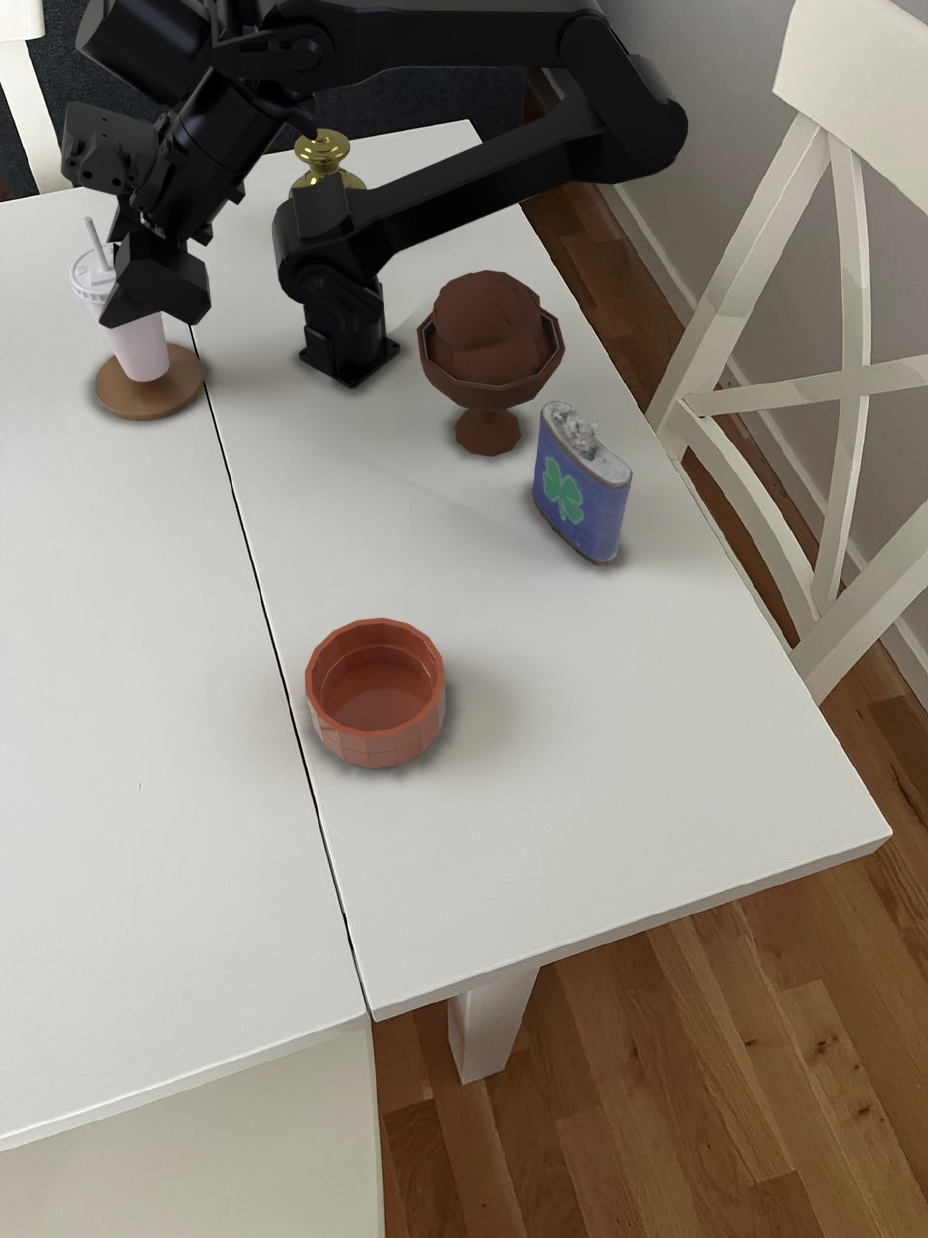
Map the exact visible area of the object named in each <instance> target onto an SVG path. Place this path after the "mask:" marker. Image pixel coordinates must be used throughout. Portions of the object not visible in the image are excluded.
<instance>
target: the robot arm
mask: <svg viewBox="0 0 928 1238" xmlns="http://www.w3.org/2000/svg"><path fill="white" fill-rule="evenodd" d="M244 26H245V27H254V30H255V32H251V33H248V34H244ZM74 44H75V49H76V50H77V51H78V52H80V53H81V54H83V55H84V56H85V57H87V58H89V59H90V60H92V62H94V63H96V64H97V65H98V66H100V67H102V68H103V69H105V70H106V71H107V72H109V73H110V74H112V75H113V76H115V77H116V78H117V79H119V80H121V81H122V82H123V83H125V84H127V85H128V86H129V87H130V88H132V89H134V90H135V91H136V92H138V93H139V94H141V95H142V96H144V97H146V98H147V99H148V100H150V101H152V103H154V104H156V105H157V106H159V107H161V106H164V105H166V106H167V107H169V108H170V110H169V111H168V112H167V113H165V112H163V113H161V115H160V116H159V117H158V119H157V120H156V121H155V122H154V124H153V123H151V122H149V121H147V120H146V119H145V118H136V119H135V118H133V117H132V116H129V115H126V114H123V113H119V112H116V111H113V110H110V109H105V108H102V107H98V106H95V105H92V104H88V103H86V102H81V101H70V102H68V103H67V104H66V108H65V117H64V126H63V133H62V143H61V158H60V174H61V175H62V176H63V177H64V178H65V179H66V180H68V181H70V182H72V183H74V184H77V185H81V186H82V187H83V188H84V189H88V190H92V191H95V192H100V193H103V194H106V195H107V194H108V195H111V196H115V197H116V200H117V206H116V209H115V213H114V216H113V219H112V223H111V226H110V229H109V232H108V235H107V238H106V241H105V244H106V243H112V242H121V245H120V246H119V245H117V244H116V243H113V266H114V270H115V272H116V281H115V283H114V285H113V287H112V289H111V292H110V294H109V296H108V298H107V300H106V302H105V304H104V307H103V309H102V312H101V314H100V316H99V324H101V325H103V326H105V327H107V328H109V329H113V328H116V327H119V326H121V325H124V324H127V323H130V322H132V321H135V320H138V319H140V318H143V317H146V316H149V315H151V314H154V313H157V312H161V313H162V312H163V313H165V314H168V315H169V316H171V317H173V318H175V319H177V320H178V321H180V322H182V323H185V324H186V325H187V326H190V327H193V326H199V324H200V322H202V320H203V319H204V317H205V316H206V315H207V313H208V312H209V311H210V310H211V309H212V296H211V286H210V277H209V273H208V270H207V267H206V261H203V260H202V259H201V258H199V257H197V256H195V255H194V254H192V253H190V252H189V249H188V248H189V247H188V241H189V239H191V240H193V241H195V242H196V243H198V244H200V245H201V246H203V247H205V248H207V247H208V245H209V244H210V243H211V242H212V241H213V239H214V229H213V222H214V220H215V219H216V218H217V217H218V215H219V214H220V212H222V210H223V209H224V207H225V206H226V205H227V203H228V202H229V201H230V202H231V203H233V204H234V205H236V206H239V205H240V203H241V202H242V201H243V200H244V198H245V197H246V196H247V193H246V186H245V179H246V178H247V177H248V176H249V174H250V173H251V172H252V170H253V169H254V167H255V166H256V165H257V163H258V162H259V161H260V160H261V158H262V157H263V156H264V154H265V153H266V152H267V150H268V149H269V147H270V146H271V145H272V144H273V142H274V141H275V140H276V138H277V137H278V136H279V135H280V133H281V132H282V131H283V129H284V128H285V127H286V125H289V126H290V127H291V128H292V129H294V130H295V131H296V132H298V133H299V134H301V136H302V135H303V136H305V137H306V138H307V139H309V140H311V141H314V140H316V139H317V137H318V132H317V129H318V128H317V123H316V117H315V107H316V95H315V94H316V93H323V92H327V91H331V90H332V91H333V90H339V89H345V88H348V87H354V86H358V85H360V84H362V83H364V82H367V81H368V80H370V79H372V78H374V77H376V76H378V75H379V74H381V73H383V72H386V71H391V70H397V69H405V68H406V69H407V68H409V69H415V68H417V69H418V68H419V69H421V68H422V69H430V68H431V69H432V68H434V69H435V68H436V69H442V68H443V69H444V68H445V69H446V68H447V69H460V68H461V69H517V68H518V69H562V70H563V69H564V70H567V72H568V73H569V74H570V75H571V77H572V78H573V80H574V81H575V82H576V84H575V85H574V86H573V87H572V88H571V89H570V90H569V92H567V94H566V95H565V96H564V98H563V99H562V100H561V101H560V102H559V103H558V104H557V105H556V107H554V109H552V111H551V112H549V113H548V114H546V115H545V116H543V117H541V118H538V119H536V120H534V121H531V122H528V123H526V124H524V125H521V126H520V127H517V128H514V129H512V130H509V131H508V132H507V131H506V132H505V133H502V134H501V135H497V136H496V137H493V138H491V139H489V140H486V141H484V142H482V143H479V144H477V145H475V146H472V147H470V148H467V149H464V150H463V151H460V152H458V153H455V154H453V155H450V156H447V157H446V158H443V159H441V160H439V161H436V162H435V163H432V164H430V165H427V166H425V167H422V168H420V169H418V170H415V171H413V172H411V173H408V174H405V175H404V176H401V177H399V178H397V179H394V180H392V181H389V182H387V183H385V184H382V185H380V186H378V187H377V186H376V187H374V188H367V189H357V188H345V185H344V181H343V178H342V174H341V173H340V172H336V173H332V174H329V175H328V176H326V177H325V178H323V179H321V180H320V181H318V182H316V183H315V184H313V185H309V186H306V187H296V188H292V189H291V192H292V197H291V198H290V199H288V198H287V199H286V200H285V201H283V202H281V204H279V206H277V207H276V210H275V211H276V212H275V213H274V216H273V219H272V223H271V239H272V245H273V251H274V260H275V266H276V267H275V268H276V272H277V280H278V283H279V285H280V288H281V290H282V291H283V292H284V294H285V295H286V296H287V297H288V298H289V299H290V300H292V301H294V302H295V303H297V304H300V305H302V308H303V314H304V322H305V325H304V326H303V334H304V340H305V347H303V348H302V349H301V350H299V352H298V357H299V360H300V362H303V363H305V364H307V365H308V366H310V367H312V368H313V369H315V370H317V371H319V372H320V373H321V374H324V375H325V376H327V377H329V378H331V379H333V380H334V381H336V382H337V383H340V384H341V385H343V386H345V387H347V388H349V389H356V388H358V387H359V386H360V385H362V383H364V382H365V381H367V379H369V378H370V377H371V376H373V375H374V374H375V373H376V372H377V371H378V370H379V369H381V368H382V367H383V366H384V365H386V364H387V363H388V362H389V361H391V360H392V359H394V358H395V356H397V355H398V354H399V353H401V351H402V347H401V344H400V343H399V342H397V341H395V340H394V339H392V338H389V337H388V336H387V325H386V313H385V312H386V311H385V301H384V300H385V299H384V290H383V283H382V282H380V280H379V275H378V274H379V273H380V272H381V271H382V270H383V268H384V267H385V266H386V265H387V264H388V263H389V261H391V259H392V258H394V256H395V255H397V254H399V253H401V252H403V251H405V250H408V249H410V248H413V247H416V246H418V245H420V244H423V243H425V242H427V241H430V240H432V239H435V238H437V237H440V236H441V235H444V234H446V233H447V234H448V233H449V232H451V231H454V230H456V229H458V228H462V227H464V226H466V225H469V224H471V223H474V222H475V221H479V220H480V219H484V218H486V217H488V216H490V215H493V214H495V213H498V212H501V211H502V210H506V209H507V208H510V207H512V206H515V205H518V204H520V203H521V202H524V201H527V200H530V199H532V198H535V197H537V196H539V195H542V194H544V193H546V192H547V193H548V192H549V191H551V190H554V189H556V188H559V187H561V186H564V185H566V184H570V183H585V184H597V185H598V184H599V185H612V186H613V185H618V184H622V183H626V182H631V181H634V180H638V179H642V178H647V177H651V176H654V175H657V174H659V173H660V172H663V171H664V170H666V169H668V168H669V167H670V166H672V165H673V164H674V163H675V162H676V161H677V159H678V157H677V156H678V154H679V153H680V152H681V150H682V149H683V147H684V146H685V143H686V140H687V137H688V135H689V119H688V115H687V112H686V110H685V108H684V107H683V105H682V103H681V102H680V100H679V98H678V97H677V95H676V93H675V92H674V91H673V89H672V87H671V85H670V84H669V82H668V80H667V79H666V77H665V76H664V74H663V72H662V71H661V69H660V68H659V67H658V66H657V64H656V63H655V62H654V61H653V60H650V59H648V58H646V57H645V56H642V55H641V54H639V53H630V51H629V49H627V47H626V45H625V44H624V43H623V41H622V39H621V38H620V36H619V35H618V33H617V32H616V31H615V30H614V27H612V25H611V24H610V22H609V21H608V18H607V17H606V15H605V13H604V11H603V9H602V7H601V6H600V4H599V3H598V1H597V0H203V3H202V2H200V1H199V0H89V2H88V4H87V6H86V8H85V11H84V13H83V16H82V18H81V21H80V23H79V27H78V30H77V34H76V37H75V43H74ZM209 66H210V67H209ZM208 68H209V69H208ZM206 71H207V72H206ZM205 72H206V73H205ZM204 74H205V75H204ZM201 79H202V80H201ZM187 99H188V100H187ZM186 100H187V102H186V103H185V104H184V106H183V107H182V109H181V110H180V111H179V113H175V112H174V111H173V110H171V109H173V108H175V107H176V106H177V105H178V104H179V102H185V101H186Z"/></svg>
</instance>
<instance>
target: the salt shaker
mask: <svg viewBox="0 0 928 1238" xmlns="http://www.w3.org/2000/svg"><path fill="white" fill-rule="evenodd" d="M317 132H318V137H317V139H316V140H314V141H311V140H309V139H307V138H306V137H305V136H303V135H302V134H301V135H300V136H299V137H298V138H297V139H296V140H295V141H294V146H293V149H294V154H295V156H296V158H297V159H298V160H300V161H301V162H302V163H305V164H306V165H308V166H309V169H308V170H307V171H306V172H304V174H303V175H301V176H300V177H298V178H297V179H296V180H295V181H294V182H293V183H292V185H291V186H290V188H289V191H288V194H287V200H288V199H290V198H291V197H292V192H291V189H292V188H296V187H306V186H309V185H313V184H315V183H316V182H318V181H320V180H321V179H323V178H325V177H326V176H328V175H329V174H332V173H336V172H340V173H341V174H342V178H343V181H344V185H345V188H357V189H368V187H367V185H366V183H365V182H364V181H363V180H362V179H361V178H360V177H359V176H358V175H356V174H354V173H352V172H349V171H348V170H346V169H345V168H343V167H342V166H340V163H341V162H342V161H343V160H344V159H346V158H347V157H348V155H349V154H350V152H351V143H350V140H349V138H348V137H347V136H346V135H345V134H343V133H341V132H340V131H337V130H333V129H329V128H317Z"/></svg>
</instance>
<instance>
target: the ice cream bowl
mask: <svg viewBox="0 0 928 1238" xmlns="http://www.w3.org/2000/svg"><path fill="white" fill-rule="evenodd" d="M432 306H433V307H432V311H431V312H430V313H429V314H428V315H427V316H426V317H425V319H424V320H423V321H422V322H421V323H420V324H419V325H418V327H417V328H416V335H417V336H416V338H417V344H418V352H419V359H420V364H421V367H422V371H423V373H424V376H425V377H426V379H427V380H428V382H429V383H430V384H431V385H432V387H434V388H435V389H437V390H438V391H439V392H440V393H442V395H444V396H446V397H447V398H448V399H450V400H451V401H452V402H453V403H454V404H456V405H457V406H459V407H462V408H464V409H466V410H465V411H464V412H463V413H462V415H461V416H460V417H459V418H458V419H457V421H456V422H455V425H454V433H455V439H456V443H457V444H458V445H460V446H461V447H462V448H463V449H465V450H466V451H467V452H469V453H470V454H473V455H478V456H479V455H480V456H486V457H496V456H498V455H502V454H504V453H508V452H510V451H512V450H513V449H514V448H515V446H516V445H517V444H518V443H519V441H520V440H521V438H523V437H522V430H521V425H520V421H519V418H518V417H517V416H516V415H515V414H514V413H512V412H511V411H509V410H508V409H510V408H513V407H517V406H519V405H523V404H525V403H527V402H530V401H533V400H535V399H536V397H537V396H538V395H539V394H540V392H541V391H542V389H543V388H544V387H545V385H546V384H547V382H548V381H549V380H550V379H551V377H552V376H553V375H554V373H555V371H557V369H558V368H559V366H560V365H561V363H562V360H563V357H564V354H565V352H566V345H565V341H564V338H563V334H562V329H561V325H560V323H559V317H557V316H555V315H554V314H552V313H550V312H549V311H548V310H546V309H545V308H543V307H542V306H541V297H540V295H539V294H538V293H537V292H536V291H534V290H533V289H532V288H531V287H529V286H528V285H527V284H525V283H523V282H522V281H520V280H519V279H517V278H515V277H514V276H512V275H511V274H509V273H507V272H505V271H498V270H490V269H483V270H479V271H476V272H471V271H470V272H468V273H465V274H463V275H460V276H458V277H455V278H453V279H450V280H449V281H448V282H447V283H446V284H445V285H443V286H442V287H441V288H440V290H439V293H438V296H437V298H436V299H435V301H434V302H433V305H432Z"/></svg>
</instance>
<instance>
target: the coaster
mask: <svg viewBox="0 0 928 1238" xmlns="http://www.w3.org/2000/svg"><path fill="white" fill-rule="evenodd" d="M166 345H167V350H168V356H169V362H170V366H169V369H168V370H167V372H166V373H165V374H164V375H162V376H161V377H159V378H157V379H155V380H152V381H146V382H140V381H135V380H132V379H130V378H129V377H128V376H127V375H126V373H125V371H124V370H123V368H122V366H121V364H120V363H119V361H118V359H117V357H116V356H115V354H114V355H113V356H111V357H110V358H109V359H107V360H106V362H105V363H104V364H103V365H102V366H101V367H100V368H99V370H98V372H97V374H96V376H95V380H94V392H95V395H96V397H97V399H98V402H99V403H100V404H101V406H102V407H103V409H105V410H106V411H108V412H109V413H110V414H112V415H114V416H117V417H119V418H123V419H126V420H131V421H132V420H133V421H150V420H156V419H161V418H164V417H168V416H171V415H173V414H176V413H177V412H179V411H182V410H183V409H184V408H186V407H188V406H189V405H190V404H191V403H192V402H194V400H195V399H196V398H197V397H198V395H199V394H200V393H201V391H202V388H203V386H204V384H205V370H204V368H203V364H202V362H201V360H200V358H199V357H198V356H197V355H196V354H195V353H194V352H193V351H192V350H190V349H188V348H186V347H185V346H182V345H179V344H177V343H176V344H175V343H171V342H166Z"/></svg>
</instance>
